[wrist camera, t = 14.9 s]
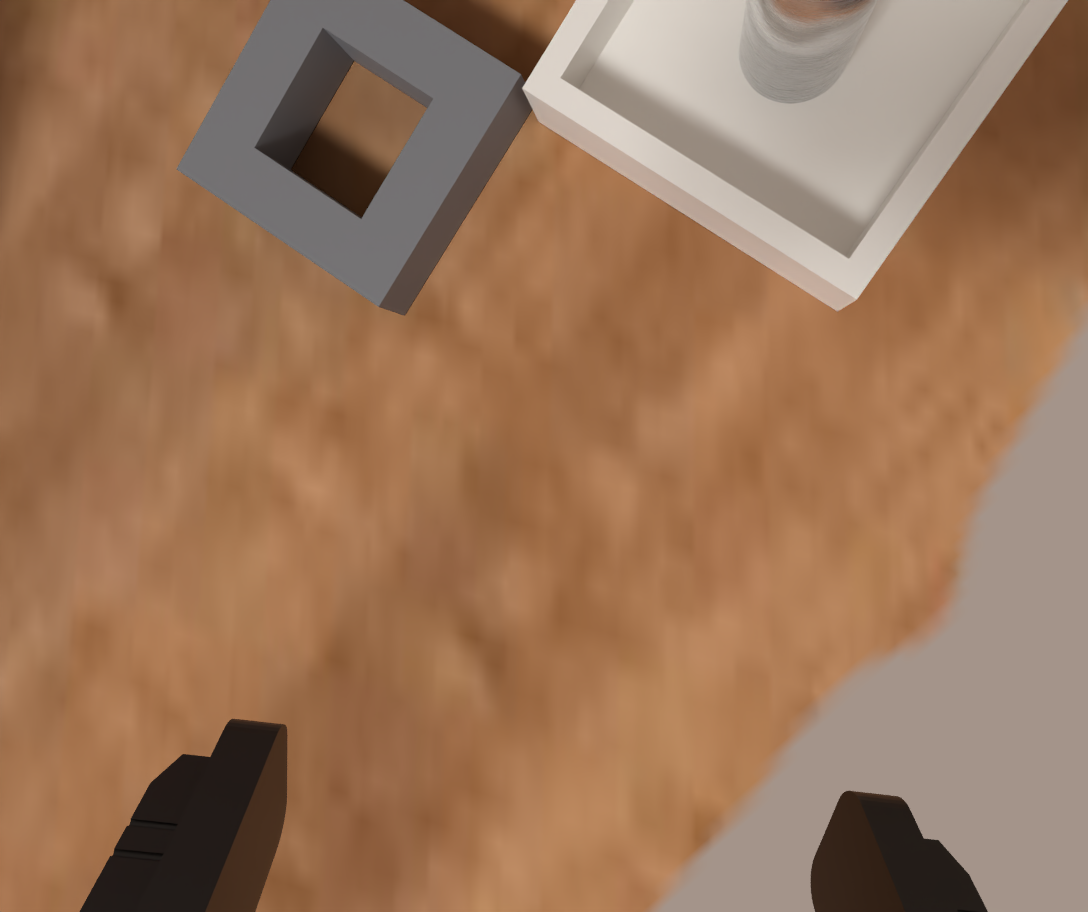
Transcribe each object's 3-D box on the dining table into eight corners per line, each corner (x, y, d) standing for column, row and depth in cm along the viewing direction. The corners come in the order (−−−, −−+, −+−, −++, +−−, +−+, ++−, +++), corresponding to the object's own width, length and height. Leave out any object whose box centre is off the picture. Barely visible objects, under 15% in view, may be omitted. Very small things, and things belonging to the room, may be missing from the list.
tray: (538, 121, 33) (522, 88, 30) (741, -205, 31) (749, -282, 28) (837, 311, 32) (856, 299, 28) (1069, -19, 30) (1121, -75, 26)
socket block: (218, 189, 35) (176, 168, 32) (337, -21, 34) (305, -62, 31) (404, 315, 34) (378, 306, 31) (535, 104, 33) (521, 74, 30)
